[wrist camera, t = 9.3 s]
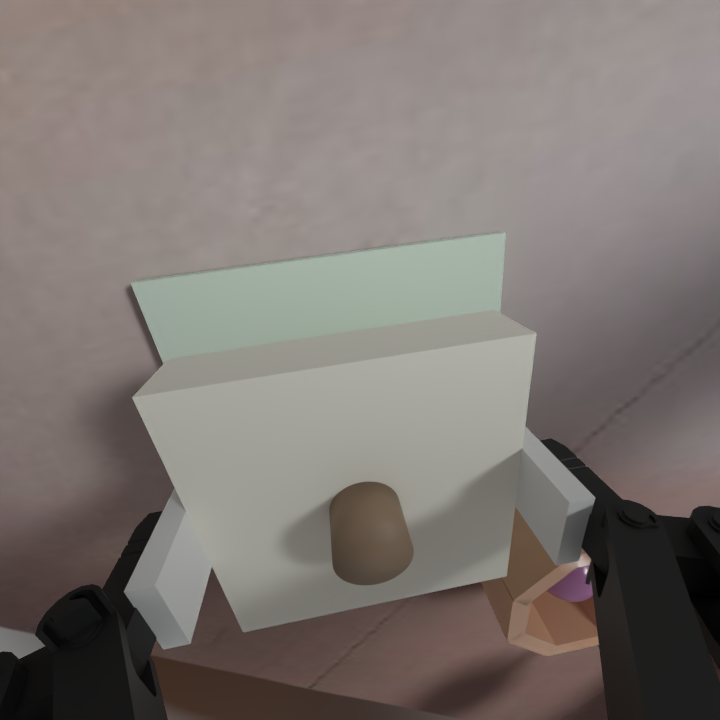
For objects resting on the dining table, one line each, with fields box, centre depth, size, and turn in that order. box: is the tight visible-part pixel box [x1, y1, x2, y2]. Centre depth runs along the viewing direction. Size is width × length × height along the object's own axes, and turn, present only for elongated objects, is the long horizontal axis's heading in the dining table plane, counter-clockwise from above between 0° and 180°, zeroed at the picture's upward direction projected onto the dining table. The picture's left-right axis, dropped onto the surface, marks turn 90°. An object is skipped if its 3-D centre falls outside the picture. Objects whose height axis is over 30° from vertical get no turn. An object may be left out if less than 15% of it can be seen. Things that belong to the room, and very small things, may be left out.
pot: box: [481, 507, 599, 656], centre depth 20 cm, size 9×9×6 cm
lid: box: [132, 310, 537, 632], centre depth 12 cm, size 11×11×4 cm
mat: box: [131, 232, 506, 364], centre depth 17 cm, size 15×15×1 cm
